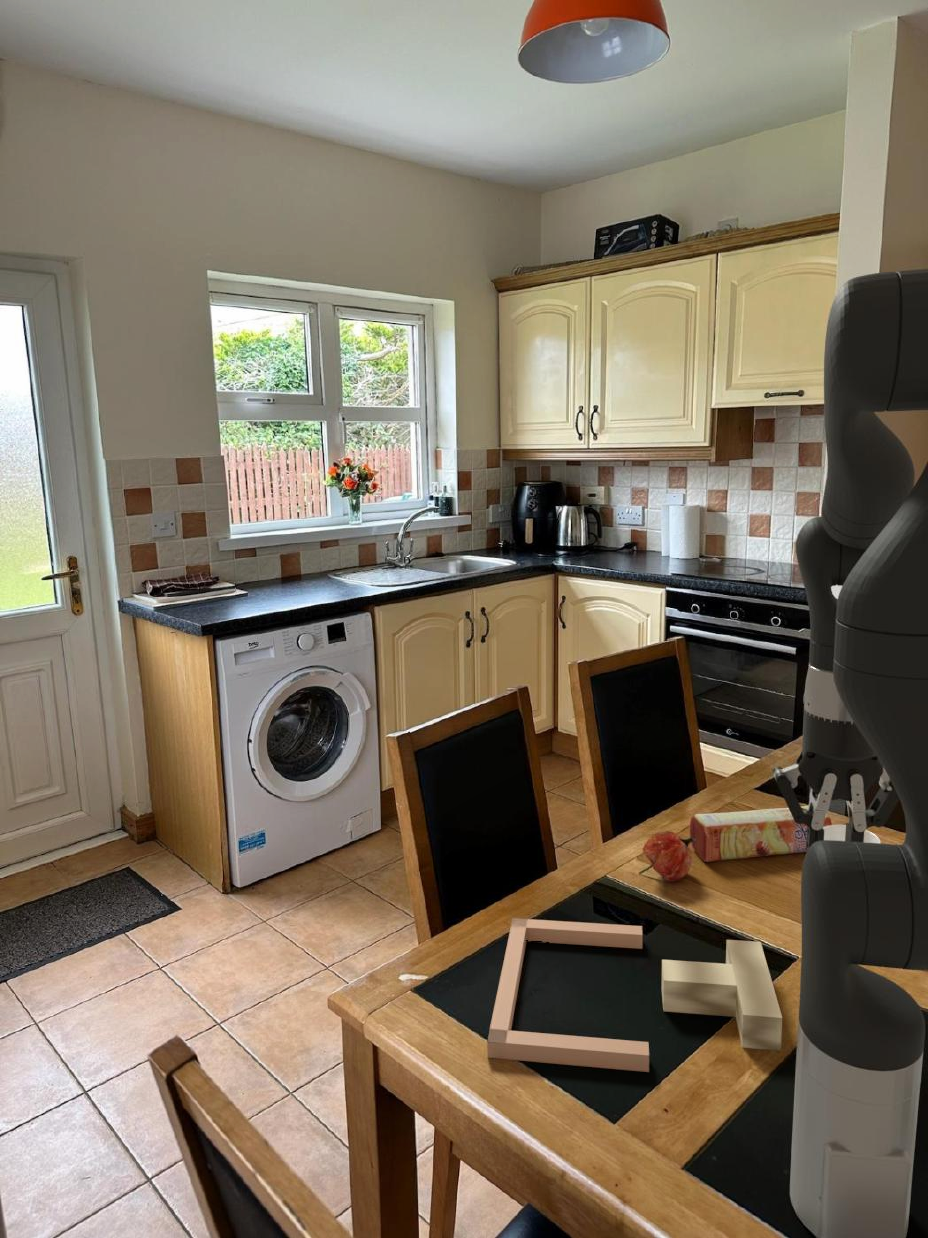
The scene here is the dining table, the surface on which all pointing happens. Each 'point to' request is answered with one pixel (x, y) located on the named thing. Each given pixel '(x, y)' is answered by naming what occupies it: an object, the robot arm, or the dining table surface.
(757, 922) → the dining table surface
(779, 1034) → the T block
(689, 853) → the pomegranate
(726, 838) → the snack package
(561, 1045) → the frame
